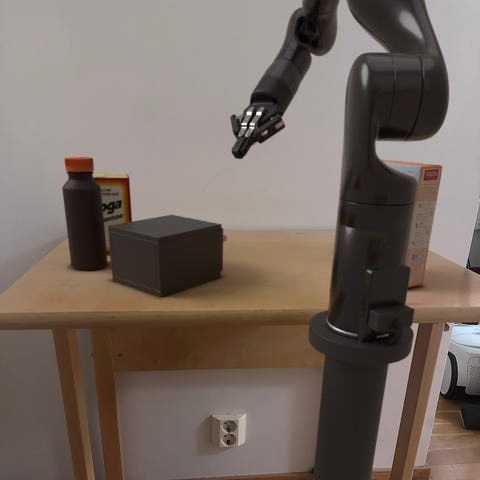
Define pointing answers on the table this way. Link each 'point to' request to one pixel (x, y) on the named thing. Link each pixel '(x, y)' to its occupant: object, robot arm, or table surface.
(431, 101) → the robot arm
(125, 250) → the cabinet
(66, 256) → the table surface
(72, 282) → the table surface
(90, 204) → the bottle
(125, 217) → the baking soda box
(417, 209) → the cracker box
